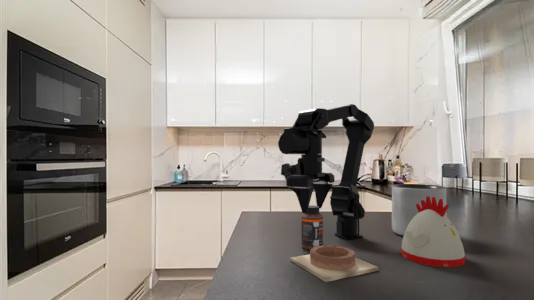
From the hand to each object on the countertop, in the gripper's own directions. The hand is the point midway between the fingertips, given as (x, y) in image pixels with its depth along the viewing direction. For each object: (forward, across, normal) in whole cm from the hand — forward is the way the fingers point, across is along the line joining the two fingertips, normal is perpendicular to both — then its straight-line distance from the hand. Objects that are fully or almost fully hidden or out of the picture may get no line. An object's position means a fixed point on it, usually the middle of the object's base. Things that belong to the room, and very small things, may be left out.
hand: (312, 210), depth 85 cm
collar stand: (+10, +11, +10) cm, 18 cm away
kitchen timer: (+10, -9, +28) cm, 31 cm away
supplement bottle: (+10, 0, 0) cm, 10 cm away
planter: (+11, -32, +22) cm, 40 cm away
